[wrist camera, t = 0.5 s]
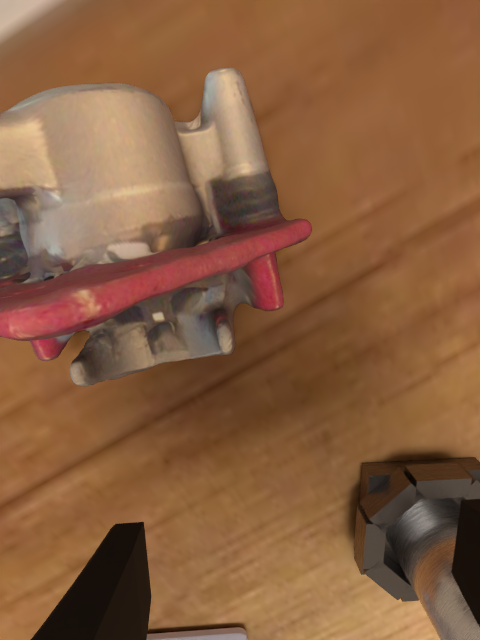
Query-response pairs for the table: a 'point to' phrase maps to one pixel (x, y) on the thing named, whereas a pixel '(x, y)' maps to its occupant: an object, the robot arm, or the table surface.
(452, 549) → the silver cylinder with bar
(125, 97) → the brake caliper
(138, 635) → the robot arm
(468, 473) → the stud mount
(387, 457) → the table surface
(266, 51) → the table surface
